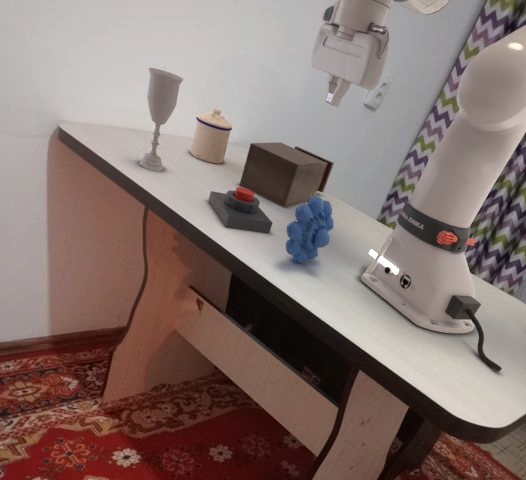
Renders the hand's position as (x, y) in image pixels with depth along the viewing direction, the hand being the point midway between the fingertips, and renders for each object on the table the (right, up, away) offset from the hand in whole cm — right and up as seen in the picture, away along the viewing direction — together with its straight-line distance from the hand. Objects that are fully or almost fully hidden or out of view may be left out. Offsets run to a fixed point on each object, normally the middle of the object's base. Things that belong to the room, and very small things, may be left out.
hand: (331, 104), depth 89 cm
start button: (-17, -19, -1) cm, 26 cm away
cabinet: (-10, -9, +23) cm, 27 cm away
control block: (-18, -22, +1) cm, 28 cm away
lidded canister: (-29, +3, +31) cm, 42 cm away
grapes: (-7, -33, -9) cm, 35 cm away
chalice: (-38, -8, +10) cm, 40 cm away
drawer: (-4, -5, +31) cm, 32 cm away
